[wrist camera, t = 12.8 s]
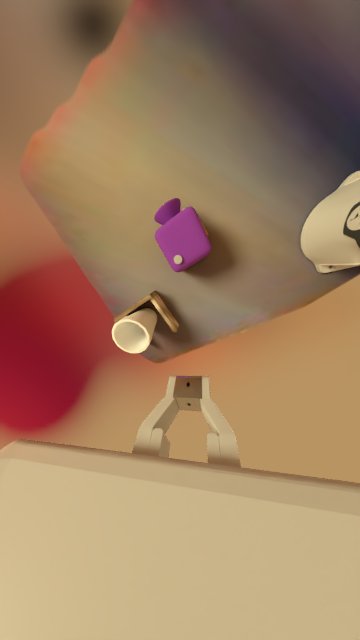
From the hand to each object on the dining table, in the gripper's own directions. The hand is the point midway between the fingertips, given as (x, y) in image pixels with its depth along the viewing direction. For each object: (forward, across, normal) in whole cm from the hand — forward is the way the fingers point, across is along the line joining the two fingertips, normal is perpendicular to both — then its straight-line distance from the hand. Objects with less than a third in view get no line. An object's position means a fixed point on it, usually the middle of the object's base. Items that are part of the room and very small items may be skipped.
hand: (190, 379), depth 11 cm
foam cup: (+30, +17, +12) cm, 36 cm away
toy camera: (+34, +3, -7) cm, 35 cm away
